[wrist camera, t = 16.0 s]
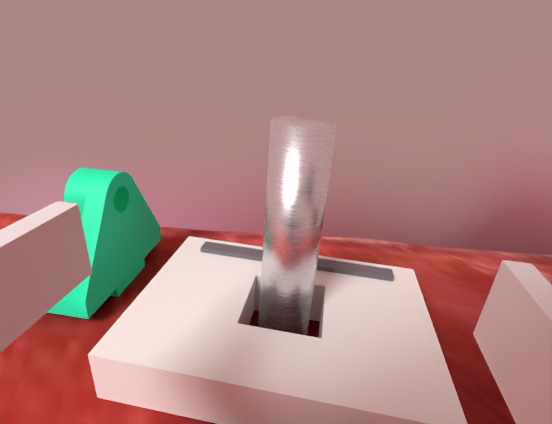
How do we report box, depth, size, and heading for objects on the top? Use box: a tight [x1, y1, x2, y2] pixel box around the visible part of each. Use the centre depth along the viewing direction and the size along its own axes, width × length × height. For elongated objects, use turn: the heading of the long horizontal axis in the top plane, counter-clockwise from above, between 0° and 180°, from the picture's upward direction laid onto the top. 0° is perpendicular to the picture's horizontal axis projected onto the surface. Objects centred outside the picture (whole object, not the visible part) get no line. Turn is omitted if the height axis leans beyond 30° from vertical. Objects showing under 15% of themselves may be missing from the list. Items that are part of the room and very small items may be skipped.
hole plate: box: [88, 236, 467, 424], centre depth 24 cm, size 20×14×4 cm
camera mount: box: [47, 168, 161, 319], centre depth 29 cm, size 12×8×10 cm, turn 172°
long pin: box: [258, 116, 337, 336], centre depth 22 cm, size 4×4×16 cm
